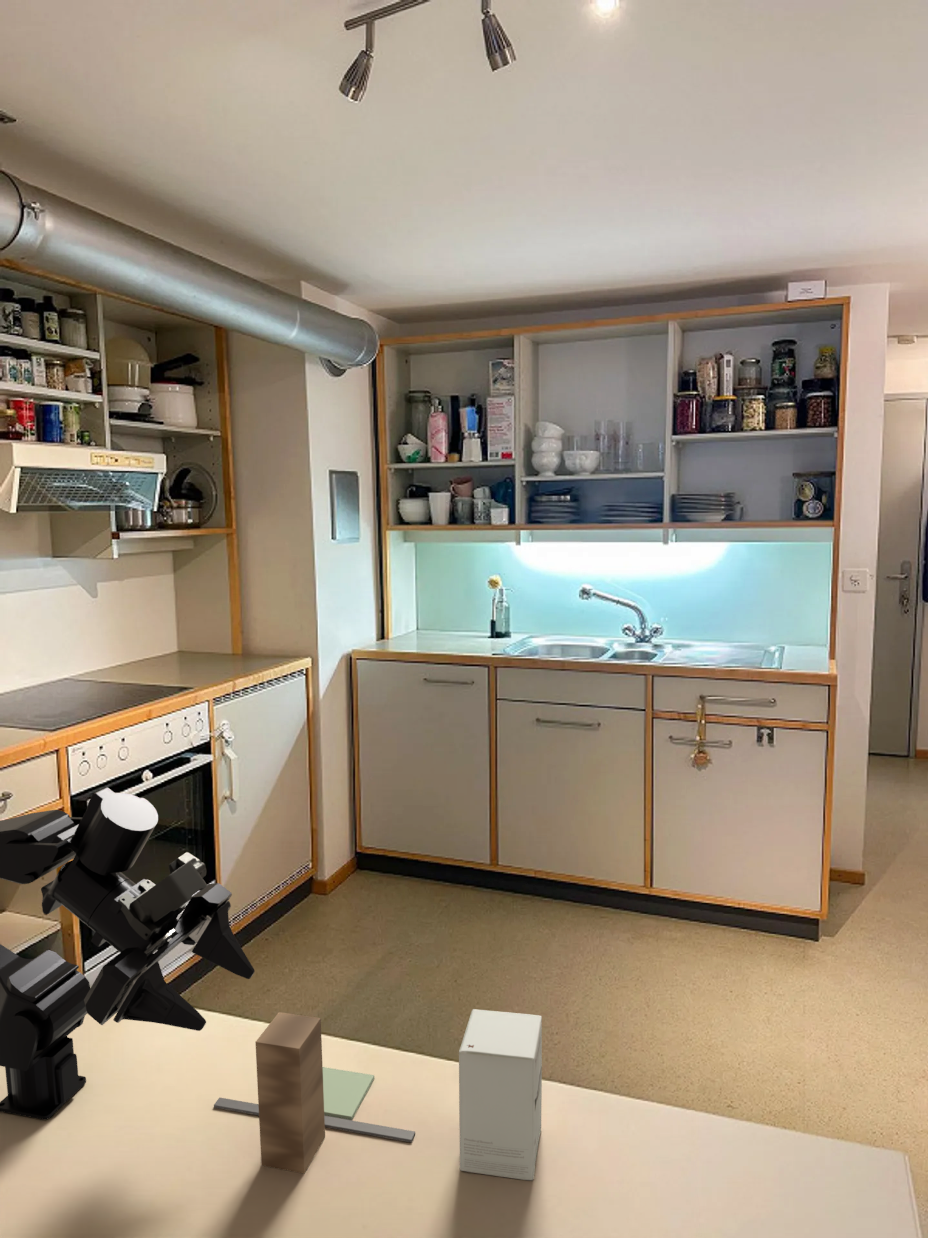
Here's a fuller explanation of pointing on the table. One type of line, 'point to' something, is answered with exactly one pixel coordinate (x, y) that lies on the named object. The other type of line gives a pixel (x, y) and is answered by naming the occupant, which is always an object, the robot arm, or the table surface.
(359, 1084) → the mat
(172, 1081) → the table surface
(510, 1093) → the supplement box
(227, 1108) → the charcoal strip
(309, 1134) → the walnut post
